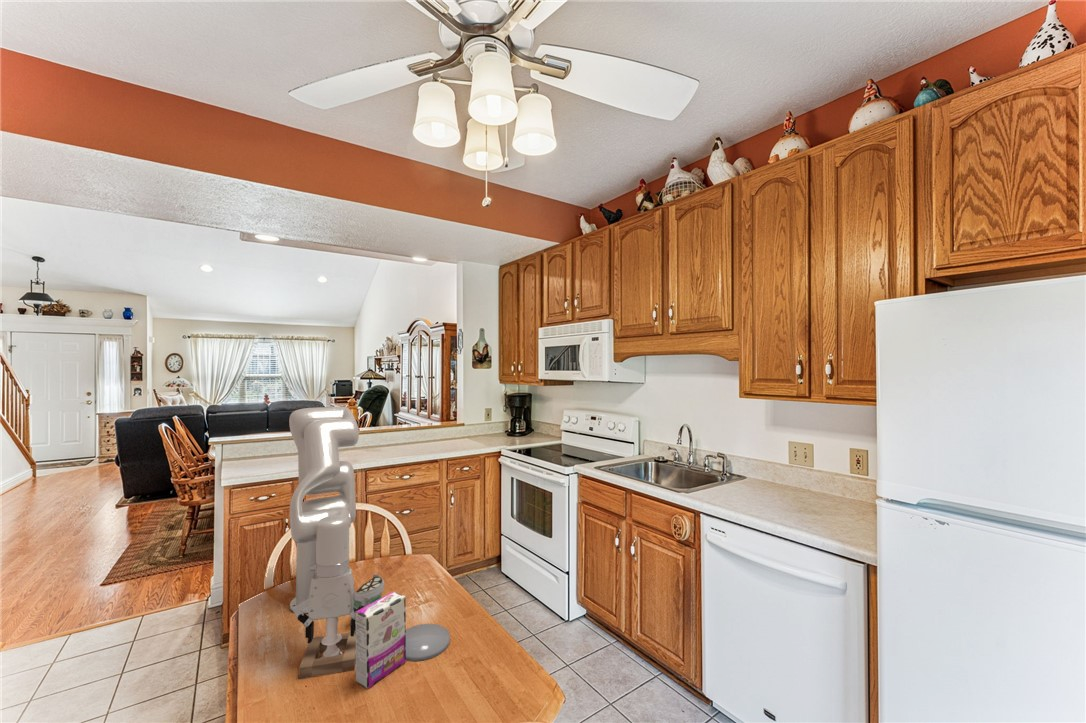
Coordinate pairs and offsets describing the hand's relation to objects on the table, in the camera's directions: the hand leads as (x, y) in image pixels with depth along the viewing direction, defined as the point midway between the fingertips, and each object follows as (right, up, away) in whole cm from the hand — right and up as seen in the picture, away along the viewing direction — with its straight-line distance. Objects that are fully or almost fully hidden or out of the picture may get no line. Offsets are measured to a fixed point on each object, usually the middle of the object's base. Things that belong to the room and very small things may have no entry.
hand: (332, 636), depth 111 cm
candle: (0, -6, 0) cm, 6 cm away
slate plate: (+21, -6, +6) cm, 23 cm away
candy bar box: (+14, -6, -5) cm, 16 cm away
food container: (+3, -6, +18) cm, 19 cm away
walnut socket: (0, -6, 0) cm, 6 cm away
